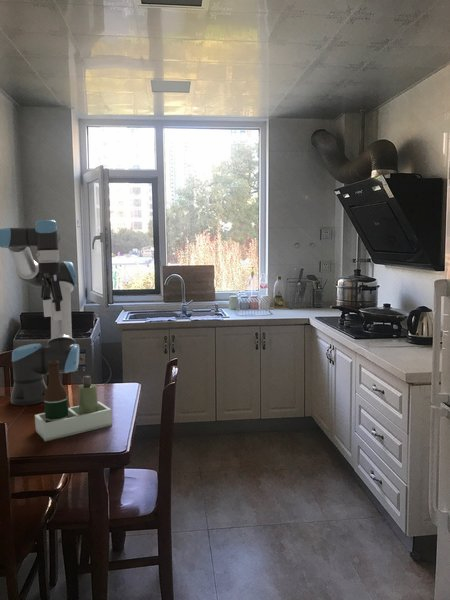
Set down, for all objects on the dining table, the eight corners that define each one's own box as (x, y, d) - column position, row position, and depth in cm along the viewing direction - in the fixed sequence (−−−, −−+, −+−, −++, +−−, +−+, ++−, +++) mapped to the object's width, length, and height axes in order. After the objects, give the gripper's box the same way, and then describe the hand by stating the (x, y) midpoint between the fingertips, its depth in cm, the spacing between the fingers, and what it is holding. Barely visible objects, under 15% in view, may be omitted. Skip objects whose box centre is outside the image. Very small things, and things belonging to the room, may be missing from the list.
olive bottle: (77, 422, 176) (74, 376, 175) (95, 418, 180) (92, 373, 178) (83, 426, 171) (80, 380, 169) (101, 422, 175) (98, 376, 173)
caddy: (35, 431, 171) (34, 414, 170) (100, 416, 184) (99, 401, 183) (45, 441, 161) (43, 424, 160) (112, 425, 174) (111, 409, 173)
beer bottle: (62, 434, 165) (57, 363, 162) (41, 433, 166) (36, 363, 164) (74, 426, 172) (69, 358, 170) (53, 425, 174) (49, 358, 171)
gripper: (30, 262, 192) (34, 316, 195) (47, 262, 172) (52, 322, 174) (49, 261, 197) (53, 314, 199) (69, 261, 176) (73, 320, 178)
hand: (52, 318), depth 186 cm, fingers open, 13 cm apart
